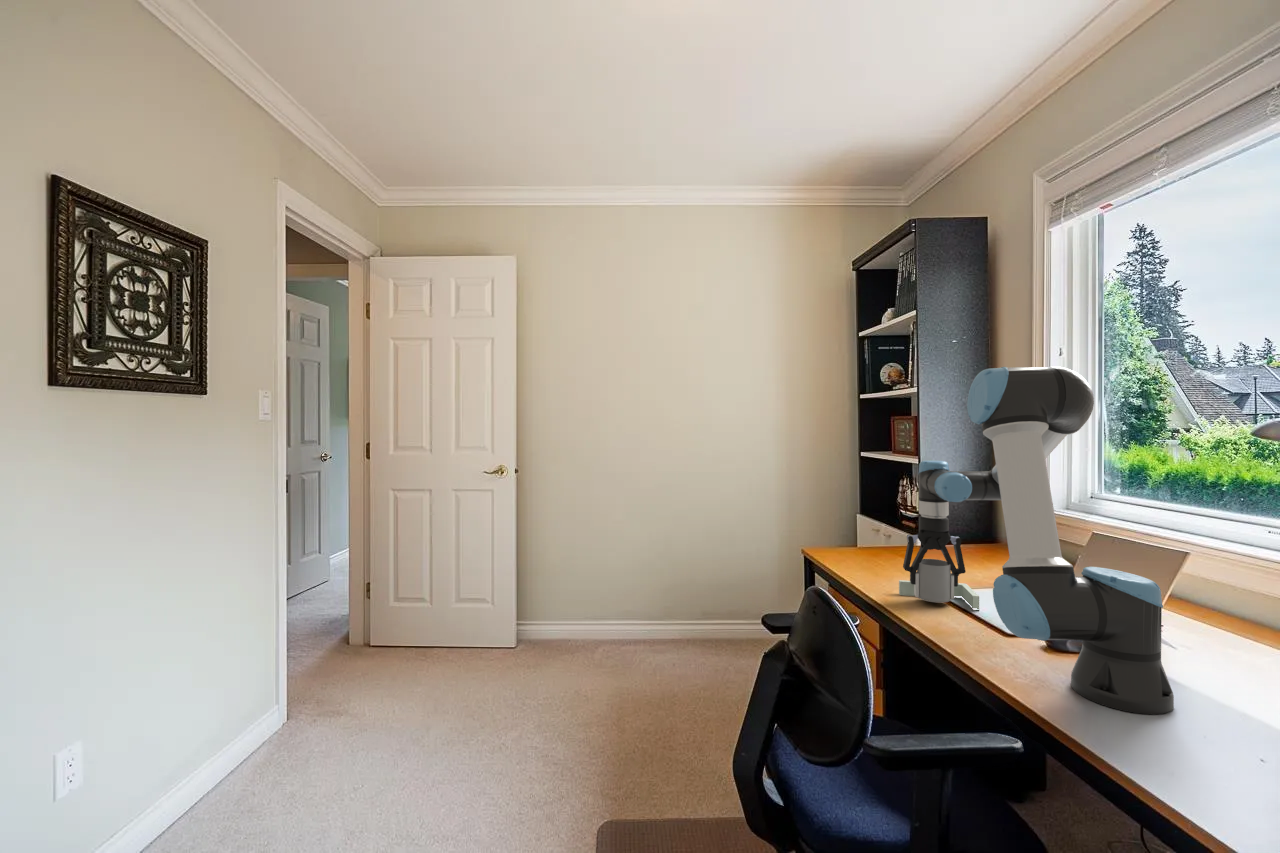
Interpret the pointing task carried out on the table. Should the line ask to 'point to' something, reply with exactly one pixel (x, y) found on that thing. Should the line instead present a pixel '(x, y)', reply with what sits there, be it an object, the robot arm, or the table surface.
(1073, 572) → the robot arm
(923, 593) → the cup
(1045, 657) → the table surface
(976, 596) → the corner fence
